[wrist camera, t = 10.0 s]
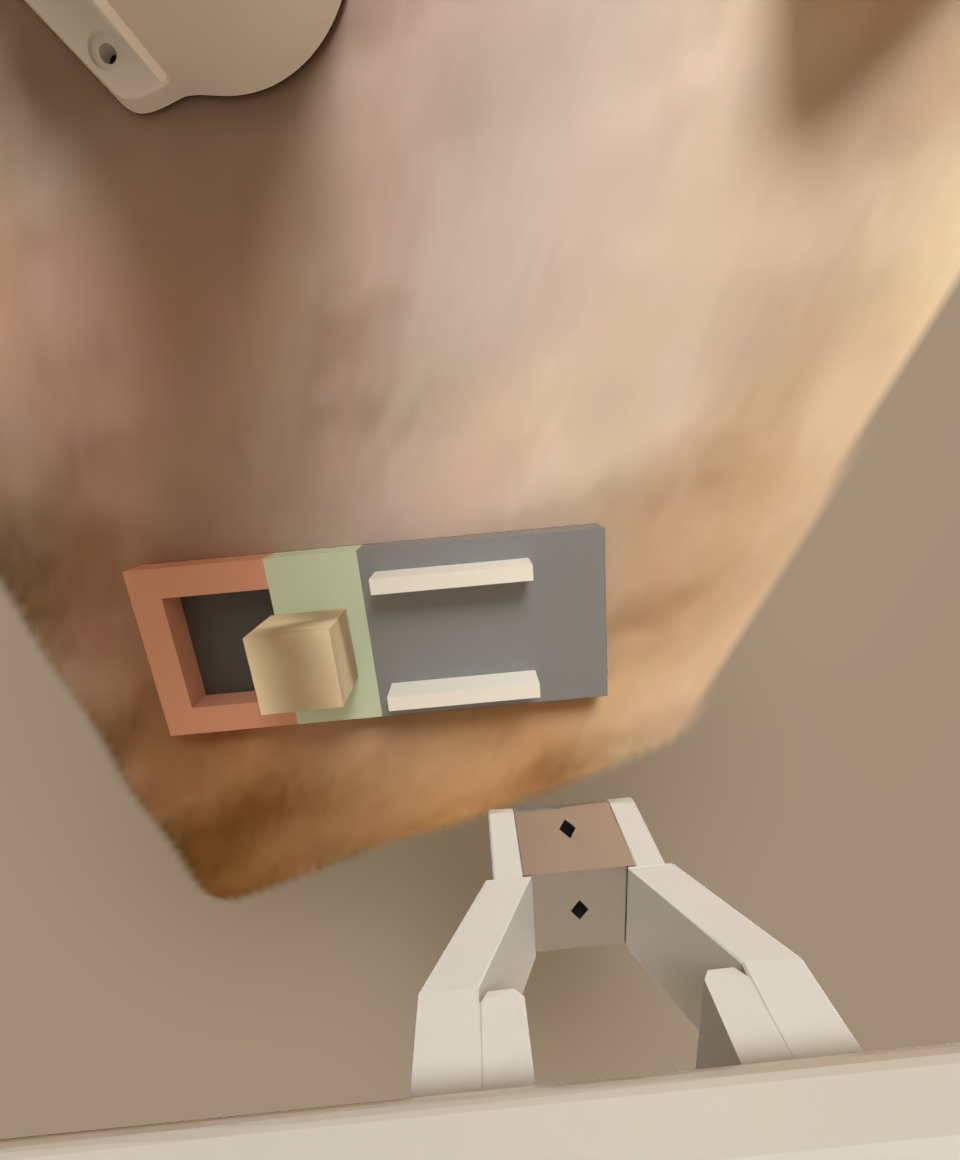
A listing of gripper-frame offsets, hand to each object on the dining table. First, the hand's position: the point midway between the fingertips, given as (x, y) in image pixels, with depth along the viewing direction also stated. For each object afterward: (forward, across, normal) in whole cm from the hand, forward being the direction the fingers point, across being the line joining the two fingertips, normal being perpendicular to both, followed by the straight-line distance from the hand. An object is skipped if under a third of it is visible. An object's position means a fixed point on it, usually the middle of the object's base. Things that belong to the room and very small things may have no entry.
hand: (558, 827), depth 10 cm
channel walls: (+21, +3, +4) cm, 22 cm away
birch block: (+21, +12, +5) cm, 25 cm away
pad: (+23, +12, +4) cm, 26 cm away
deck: (+23, +8, +4) cm, 25 cm away
